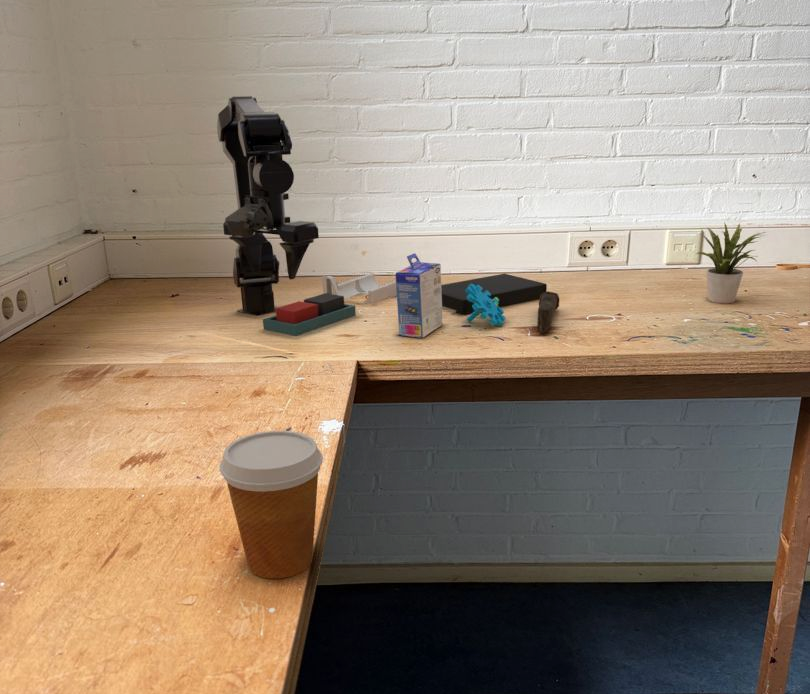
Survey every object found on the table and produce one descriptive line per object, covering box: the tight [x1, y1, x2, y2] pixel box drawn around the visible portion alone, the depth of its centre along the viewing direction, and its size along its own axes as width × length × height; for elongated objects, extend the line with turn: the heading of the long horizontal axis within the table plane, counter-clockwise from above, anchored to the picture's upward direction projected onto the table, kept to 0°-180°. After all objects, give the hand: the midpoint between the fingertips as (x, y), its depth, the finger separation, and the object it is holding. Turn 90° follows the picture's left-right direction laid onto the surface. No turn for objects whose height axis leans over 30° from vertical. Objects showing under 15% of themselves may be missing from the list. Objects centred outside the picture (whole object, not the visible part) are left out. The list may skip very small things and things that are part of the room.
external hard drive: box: [441, 273, 548, 315], centre depth 174 cm, size 14×23×3 cm, turn 124°
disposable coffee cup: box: [219, 430, 324, 579], centre depth 76 cm, size 10×10×12 cm
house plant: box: [695, 221, 766, 304], centre depth 164 cm, size 14×14×16 cm
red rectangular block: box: [275, 301, 318, 324], centre depth 155 cm, size 5×6×4 cm
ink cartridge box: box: [395, 252, 444, 339], centre depth 150 cm, size 10×6×14 cm, turn 155°
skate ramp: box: [321, 270, 397, 305], centre depth 180 cm, size 15×13×5 cm
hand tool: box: [537, 290, 560, 334], centre depth 155 cm, size 19×4×5 cm, turn 164°
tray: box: [262, 303, 357, 337], centre depth 158 cm, size 9×18×2 cm, turn 144°
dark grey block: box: [303, 293, 345, 316], centre depth 161 cm, size 5×6×4 cm
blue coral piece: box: [465, 284, 507, 327], centre depth 156 cm, size 11×6×10 cm
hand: (273, 276), depth 145 cm, fingers open, 9 cm apart
